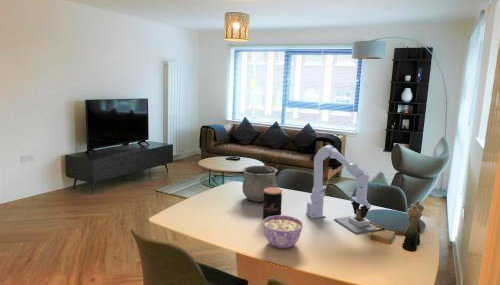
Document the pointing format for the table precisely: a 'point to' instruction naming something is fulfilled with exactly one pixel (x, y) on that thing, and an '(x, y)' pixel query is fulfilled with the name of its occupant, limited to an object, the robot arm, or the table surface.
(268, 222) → the bowl of food
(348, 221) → the grey flat piece
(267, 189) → the coffee jar
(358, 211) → the walnut peg
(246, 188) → the pot
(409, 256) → the table surface
